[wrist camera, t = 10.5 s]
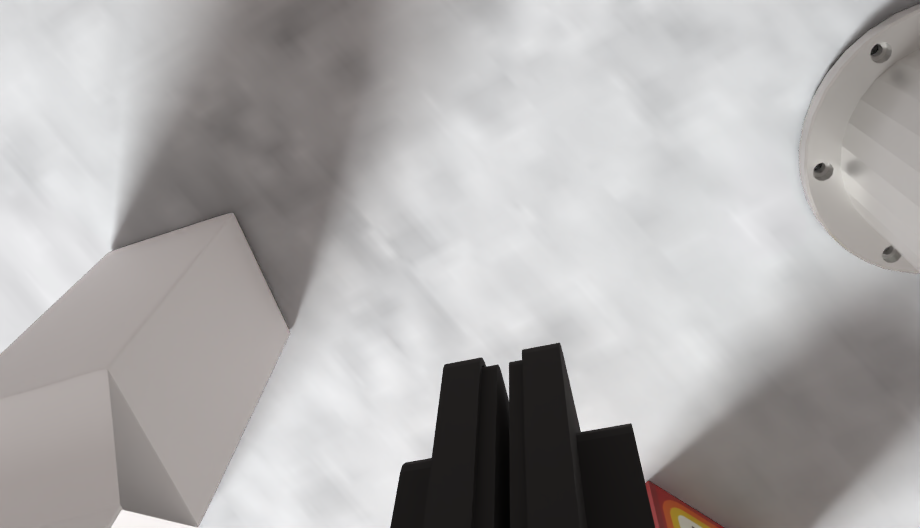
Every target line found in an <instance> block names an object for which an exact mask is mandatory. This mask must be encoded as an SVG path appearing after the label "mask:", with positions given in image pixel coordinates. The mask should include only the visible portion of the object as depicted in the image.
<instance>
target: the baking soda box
mask: <svg viewBox="0 0 920 528" xmlns="http://www.w3.org/2000/svg"><path fill="white" fill-rule="evenodd" d="M645 485H646V489H647V493H648V498H649V502H650V507H651V511H652V515H653V520H654V524H655V528H724V527H723V526H721V525H719V524H718V523H716V522H715V521H713V520H711V519H710V518H708V517H707V516H705V515H703V514H702V513H700V512H698V511H697V510H695V509H694V508H692V507H690V506H689V505H687V504H686V503H684V502H682V501H681V500H679V499H678V498H676V497H674V496H673V495H671V494H669V493H668V492H666V491H665V490H663V489H661V488H660V487H658V486H657V485H655V484H653V483H652V482H650V481H647V482H646V483H645Z"/></svg>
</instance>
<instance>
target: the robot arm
mask: <svg viewBox="0 0 920 528" xmlns="http://www.w3.org/2000/svg"><path fill="white" fill-rule="evenodd" d="M876 44H878V47H879V48H878V51H877V52H876V53H875V54H873V55H870V54H871V49H872V48H873V47H874V46H875V45H876ZM820 163H822V167H821V168H820V169H818V170H814V168H815V167H816V166H817V164H820ZM799 171H800V178H801V182H802V186H803V190H804V194H805V197H806V200H807V202H808V204H809V205H810V207H811V209H812V211H813V213H814V215H815V217H816V219H817V220H818V221H819V222H820V223H821V225H822V226H823V227H824V228H825V230H826V231H827V232H828V233H829V234H830V235H831V236H832V237H833V238H834V239H835V240H836V241H837V242H838V243H839V244H840V245H841V246H842V247H843V248H844V249H845V250H847V251H849V252H850V253H852V254H854V255H855V256H857V257H859V258H860V259H862V260H864V261H865V262H868V263H870V264H873V265H876V266H878V267H881V268H884V269H888V270H893V271H900V272H907V273H913V274H918V273H920V4H917V5H915V6H913V7H910V8H908V9H906V10H903V11H901V12H898V13H896V14H894V15H893V16H891V17H889V18H888V19H886V20H885V21H883V22H881V23H880V24H878V25H877V26H875V27H873V28H872V29H870V30H869V31H867V32H866V33H865V34H864V35H863V36H862V37H861V38H859V39H858V40H857V41H856V42H855V43H854V44H853V45H852V46H850V47H849V48H848V49H847V50H846V51H845V52H844V53H843V54H842V56H841V57H840V58H839V59H838V60H837V62H836V63H835V64H834V65H833V67H832V68H831V69H830V70H829V71H828V73H827V74H826V76H825V77H824V79H823V81H822V83H821V84H820V86H819V88H818V89H817V91H816V93H815V95H814V96H813V98H812V100H811V103H810V106H809V109H808V112H807V114H806V117H805V120H804V123H803V126H802V132H801V139H800V145H799ZM887 247H889V248H888V249H887V250H885V249H886V248H887ZM884 250H885V251H884ZM390 528H655V524H654V520H653V515H652V511H651V507H650V502H649V498H648V493H647V489H646V485H645V480H644V476H643V472H642V467H641V463H640V458H639V454H638V450H637V445H636V441H635V437H634V432H633V428H632V424H625V425H620V426H614V427H608V428H602V429H597V430H591V431H585V432H581V431H580V427H579V422H578V418H577V413H576V409H575V405H574V400H573V396H572V391H571V387H570V383H569V378H568V374H567V369H566V365H565V361H564V356H563V352H562V348H561V345H560V343H556V344H550V345H545V346H540V347H535V348H529V349H524V350H522V360H520V361H515V362H510V363H509V400H508V396H507V392H506V388H505V384H504V381H503V377H502V373H501V370H500V367H499V365H493V366H488V367H486V365H485V362H484V360H483V358H476V359H471V360H466V361H461V362H455V363H450V364H445V365H444V368H443V375H442V383H441V391H440V399H439V406H438V414H437V422H436V430H435V438H434V445H433V453H432V458H430V459H424V460H418V461H413V462H407V463H405V464H403V465H402V469H401V472H400V477H399V483H398V488H397V494H396V499H395V505H394V511H393V516H392V522H391V527H390Z"/></svg>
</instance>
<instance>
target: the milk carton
mask: <svg viewBox="0 0 920 528" xmlns="http://www.w3.org/2000/svg"><path fill="white" fill-rule="evenodd" d="M289 335H290V331H289V329H288V327H287V325H286V323H285V321H284V318H283V316H282V314H281V312H280V310H279V308H278V306H277V304H276V301H275V299H274V297H273V295H272V293H271V291H270V289H269V287H268V285H267V282H266V280H265V278H264V276H263V274H262V272H261V270H260V268H259V266H258V263H257V261H256V259H255V257H254V255H253V253H252V251H251V249H250V247H249V244H248V242H247V240H246V238H245V236H244V234H243V232H242V230H241V228H240V225H239V223H238V221H237V219H236V217H235V215H234V214H233V213H228V214H224V215H221V216H218V217H215V218H212V219H208V220H205V221H202V222H199V223H196V224H193V225H190V226H187V227H184V228H181V229H177V230H174V231H171V232H168V233H165V234H162V235H159V236H156V237H153V238H150V239H146V240H143V241H140V242H137V243H134V244H131V245H128V246H125V247H122V248H119V249H116V250H113V251H111V252H109V253H107V254H106V255H105V256H104V257H103V258H102V259H101V260H100V261H99V262H98V263H97V264H96V265H94V266H93V267H92V268H91V269H90V270H89V271H88V272H87V273H86V274H85V275H84V276H83V277H82V278H81V279H80V280H79V281H78V282H76V283H75V284H74V285H73V286H72V287H71V288H70V289H69V290H68V291H67V292H66V293H65V294H64V295H63V296H62V297H61V298H60V299H58V300H57V301H56V302H55V303H54V304H53V305H52V306H51V307H50V308H49V309H48V310H47V311H46V312H45V313H44V314H43V315H41V316H40V317H39V318H38V319H37V320H36V321H35V322H34V323H33V324H32V325H31V326H30V327H29V328H28V329H27V330H26V331H25V332H23V333H22V334H21V335H20V336H19V337H18V338H17V339H16V340H15V341H14V342H13V343H12V344H11V345H10V346H9V347H8V348H7V349H5V350H4V351H3V352H2V353H1V354H0V528H197V527H199V525H200V523H201V521H202V519H203V517H204V515H205V513H206V511H207V509H208V507H209V504H210V502H211V500H212V498H213V496H214V494H215V492H216V490H217V488H218V485H219V483H220V481H221V479H222V477H223V475H224V473H225V471H226V469H227V466H228V464H229V462H230V460H231V458H232V456H233V454H234V452H235V450H236V447H237V445H238V443H239V441H240V439H241V437H242V435H243V433H244V431H245V428H246V426H247V424H248V422H249V420H250V418H251V416H252V414H253V412H254V409H255V407H256V405H257V403H258V401H259V399H260V397H261V395H262V392H263V390H264V388H265V386H266V384H267V382H268V380H269V378H270V376H271V373H272V371H273V369H274V367H275V365H276V363H277V361H278V359H279V357H280V354H281V352H282V350H283V348H284V346H285V344H286V342H287V340H288V338H289Z"/></svg>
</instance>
